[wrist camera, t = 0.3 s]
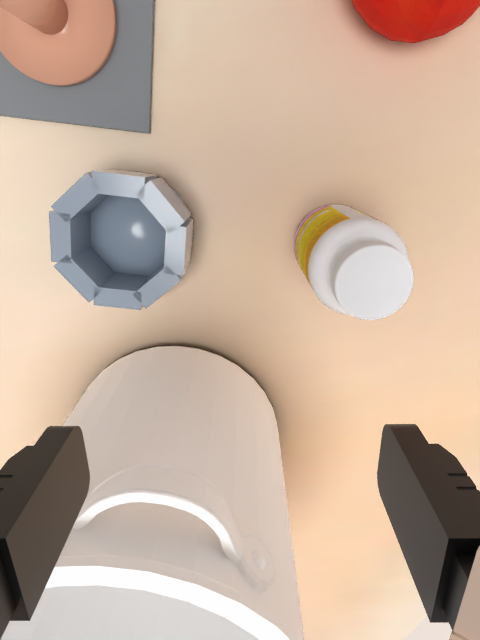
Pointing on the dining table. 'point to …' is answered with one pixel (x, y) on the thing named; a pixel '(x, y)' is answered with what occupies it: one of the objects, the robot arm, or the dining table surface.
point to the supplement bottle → (354, 262)
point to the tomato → (415, 17)
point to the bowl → (121, 237)
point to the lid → (58, 38)
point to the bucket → (175, 510)
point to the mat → (94, 82)
